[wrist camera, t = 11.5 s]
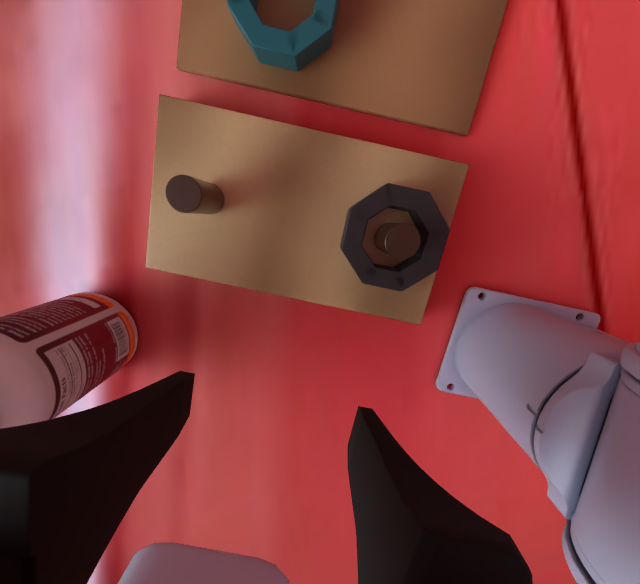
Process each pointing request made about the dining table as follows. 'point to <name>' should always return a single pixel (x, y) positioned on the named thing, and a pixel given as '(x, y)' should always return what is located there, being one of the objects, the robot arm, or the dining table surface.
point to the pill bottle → (60, 354)
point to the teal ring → (286, 34)
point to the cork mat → (361, 55)
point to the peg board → (284, 207)
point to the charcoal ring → (424, 219)
